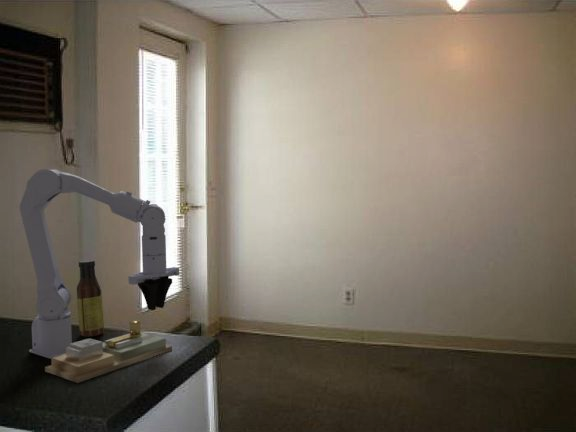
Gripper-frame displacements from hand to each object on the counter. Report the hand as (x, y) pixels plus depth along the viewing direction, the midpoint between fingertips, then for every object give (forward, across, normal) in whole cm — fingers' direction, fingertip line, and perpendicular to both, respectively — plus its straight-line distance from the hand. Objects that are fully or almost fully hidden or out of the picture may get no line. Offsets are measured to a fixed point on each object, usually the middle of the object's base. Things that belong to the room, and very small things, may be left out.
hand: (155, 308), depth 144 cm
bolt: (+6, -9, 0) cm, 11 cm away
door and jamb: (+9, -14, 0) cm, 16 cm away
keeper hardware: (+6, -15, 0) cm, 16 cm away
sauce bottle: (+10, -4, +22) cm, 24 cm away
